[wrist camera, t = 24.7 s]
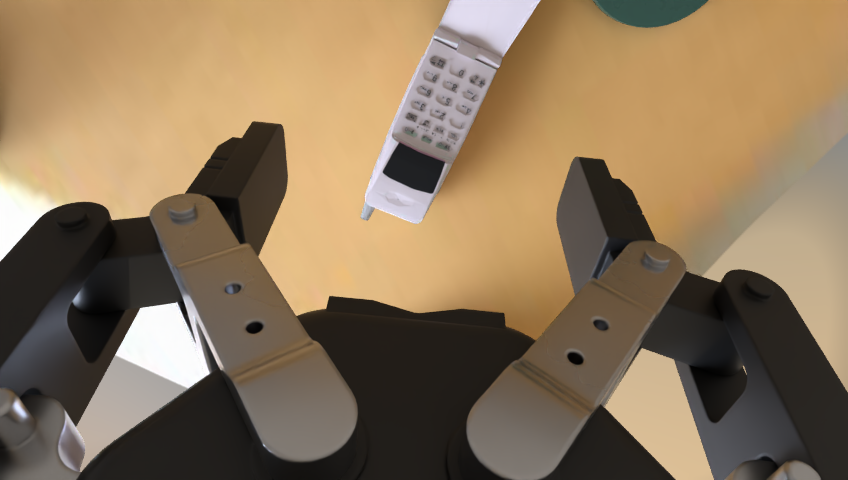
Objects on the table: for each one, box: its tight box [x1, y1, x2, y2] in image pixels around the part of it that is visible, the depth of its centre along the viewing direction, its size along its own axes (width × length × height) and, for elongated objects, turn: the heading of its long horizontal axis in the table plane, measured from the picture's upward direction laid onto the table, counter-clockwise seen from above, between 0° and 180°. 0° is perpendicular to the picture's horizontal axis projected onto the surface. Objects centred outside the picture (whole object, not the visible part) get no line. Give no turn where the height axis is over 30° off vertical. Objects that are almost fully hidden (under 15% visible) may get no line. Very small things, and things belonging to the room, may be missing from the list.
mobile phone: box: [361, 0, 540, 224], centre depth 40 cm, size 6×6×25 cm
